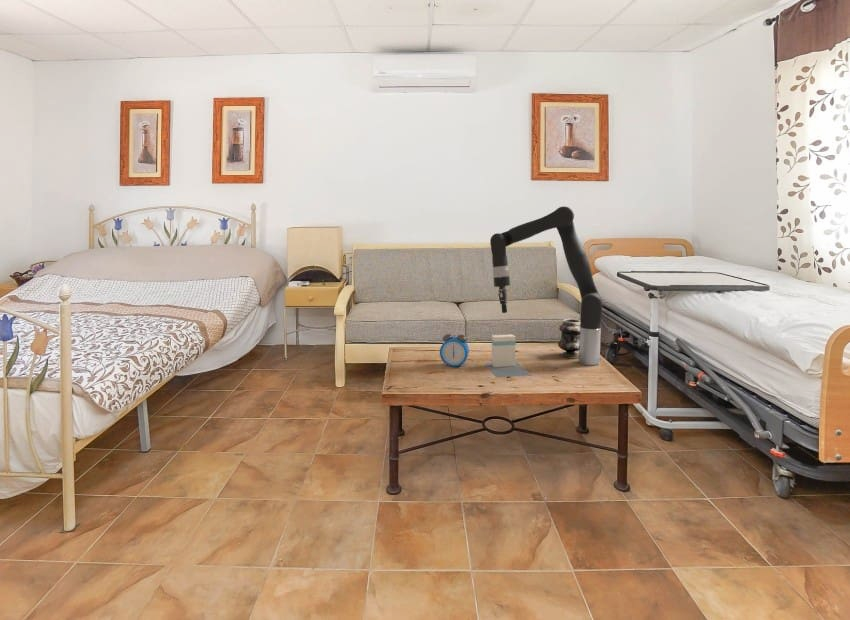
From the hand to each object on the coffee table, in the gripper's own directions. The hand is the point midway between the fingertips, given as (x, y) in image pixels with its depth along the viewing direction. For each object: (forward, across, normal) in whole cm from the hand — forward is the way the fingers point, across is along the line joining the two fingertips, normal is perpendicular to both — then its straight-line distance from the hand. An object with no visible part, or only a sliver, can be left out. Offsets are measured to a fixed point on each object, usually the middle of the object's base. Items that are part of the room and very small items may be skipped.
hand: (504, 312), depth 249 cm
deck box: (+24, +5, -2) cm, 25 cm away
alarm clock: (+22, +9, -24) cm, 35 cm away
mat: (+26, +11, 0) cm, 28 cm away
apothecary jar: (+25, -21, +28) cm, 43 cm away
